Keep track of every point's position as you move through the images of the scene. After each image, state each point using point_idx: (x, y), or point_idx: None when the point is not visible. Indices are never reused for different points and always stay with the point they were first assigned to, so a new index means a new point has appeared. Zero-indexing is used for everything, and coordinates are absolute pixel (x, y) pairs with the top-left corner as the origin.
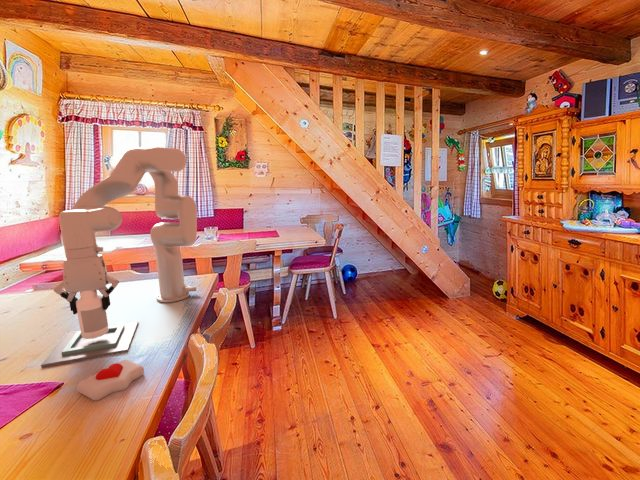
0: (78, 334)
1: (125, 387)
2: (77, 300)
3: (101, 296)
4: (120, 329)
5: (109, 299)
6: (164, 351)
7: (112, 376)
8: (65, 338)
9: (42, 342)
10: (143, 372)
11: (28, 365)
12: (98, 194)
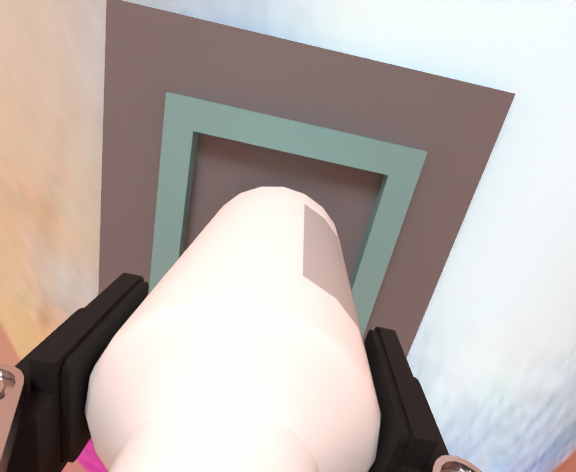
0: (183, 147)
1: None
2: (93, 431)
3: (363, 454)
4: (395, 221)
5: (430, 419)
6: (496, 457)
7: None
8: (120, 113)
9: (6, 49)
10: None
11: (47, 289)
12: None
